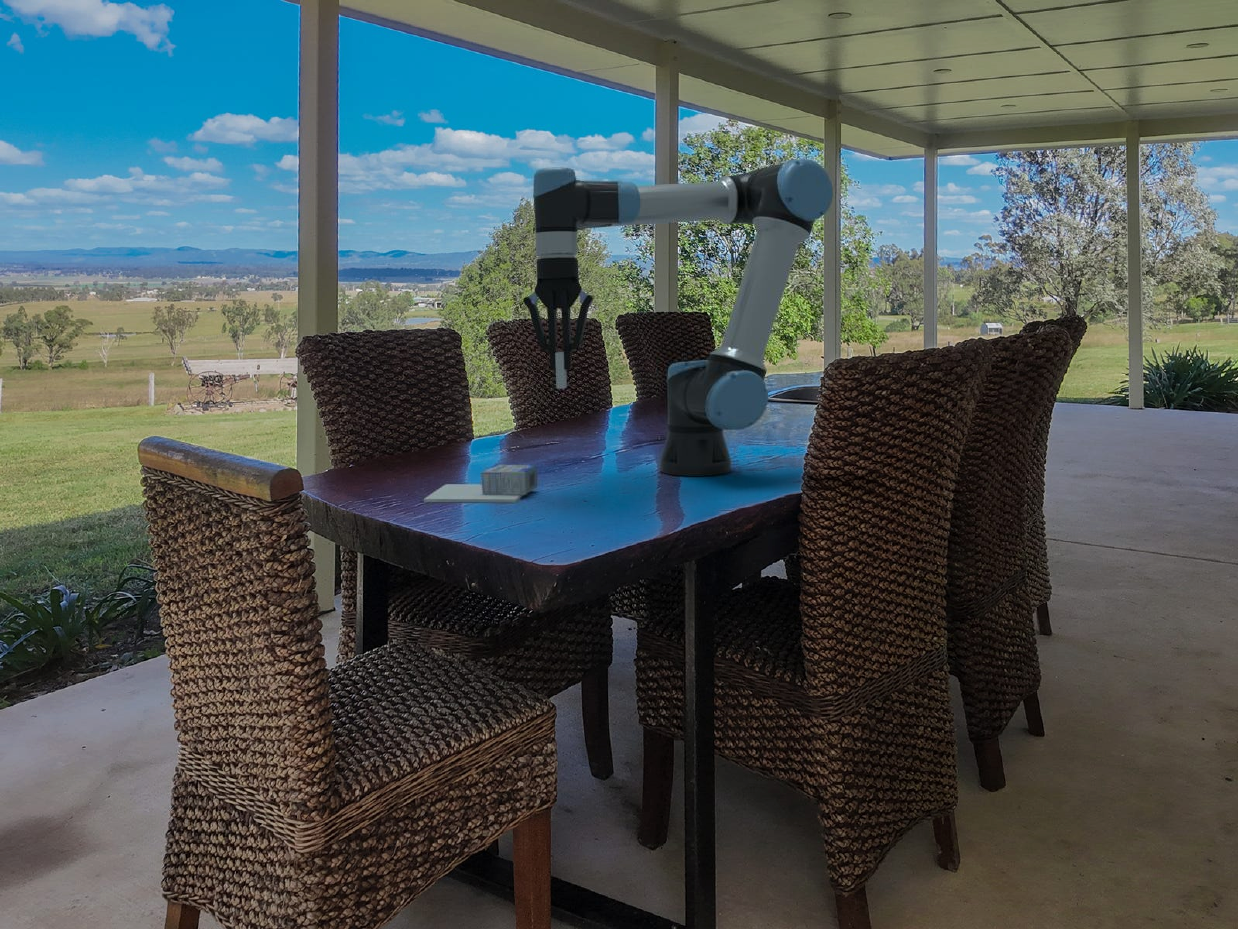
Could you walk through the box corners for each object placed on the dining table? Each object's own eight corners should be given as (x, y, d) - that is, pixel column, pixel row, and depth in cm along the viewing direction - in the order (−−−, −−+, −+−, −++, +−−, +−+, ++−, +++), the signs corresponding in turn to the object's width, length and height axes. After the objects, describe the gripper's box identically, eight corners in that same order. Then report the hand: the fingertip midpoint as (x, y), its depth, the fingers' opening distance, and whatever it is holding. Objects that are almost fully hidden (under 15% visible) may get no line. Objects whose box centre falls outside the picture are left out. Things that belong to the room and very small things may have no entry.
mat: (531, 487, 198) (531, 484, 198) (515, 502, 183) (515, 499, 183) (445, 487, 200) (445, 484, 200) (424, 502, 185) (423, 499, 185)
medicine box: (526, 471, 186) (480, 470, 188) (526, 495, 187) (481, 494, 188) (537, 465, 194) (493, 464, 195) (537, 488, 195) (494, 486, 196)
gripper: (595, 256, 186) (599, 385, 190) (525, 258, 187) (530, 386, 191) (590, 255, 179) (594, 389, 183) (517, 257, 180) (522, 390, 184)
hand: (561, 387), depth 187 cm, fingers closed
